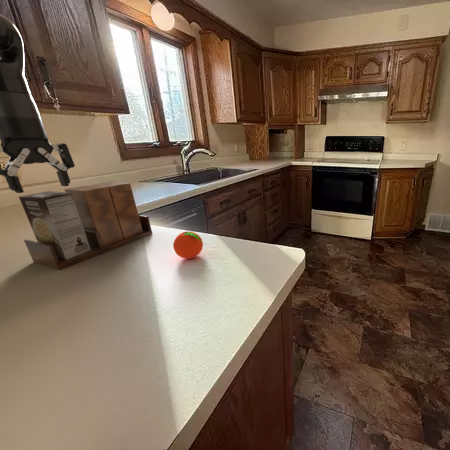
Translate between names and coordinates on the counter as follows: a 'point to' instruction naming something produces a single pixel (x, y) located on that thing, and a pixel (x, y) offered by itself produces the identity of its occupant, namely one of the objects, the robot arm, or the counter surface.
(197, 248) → the clementine
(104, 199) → the book rack
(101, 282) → the counter surface
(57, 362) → the counter surface
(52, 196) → the coffee box
